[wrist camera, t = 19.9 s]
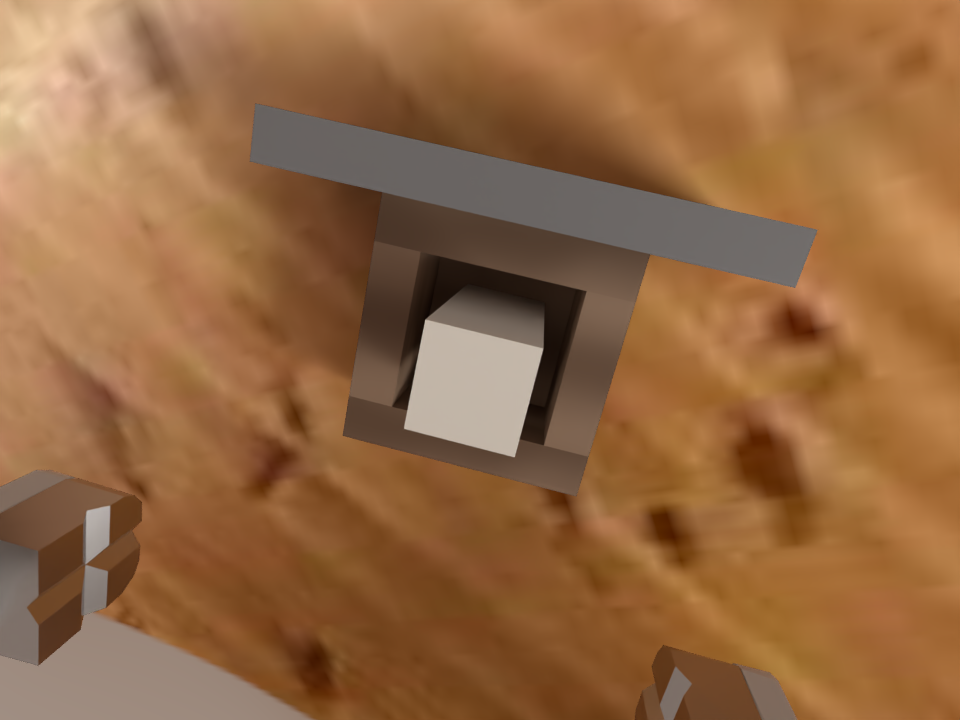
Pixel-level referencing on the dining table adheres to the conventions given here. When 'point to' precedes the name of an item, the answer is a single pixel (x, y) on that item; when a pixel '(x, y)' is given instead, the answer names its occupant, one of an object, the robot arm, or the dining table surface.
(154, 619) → the dining table surface
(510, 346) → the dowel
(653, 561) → the dining table surface
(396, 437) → the brown square open box
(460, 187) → the wall
